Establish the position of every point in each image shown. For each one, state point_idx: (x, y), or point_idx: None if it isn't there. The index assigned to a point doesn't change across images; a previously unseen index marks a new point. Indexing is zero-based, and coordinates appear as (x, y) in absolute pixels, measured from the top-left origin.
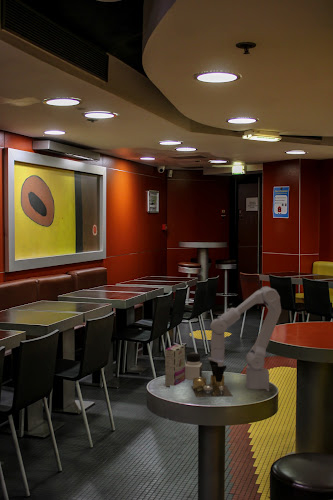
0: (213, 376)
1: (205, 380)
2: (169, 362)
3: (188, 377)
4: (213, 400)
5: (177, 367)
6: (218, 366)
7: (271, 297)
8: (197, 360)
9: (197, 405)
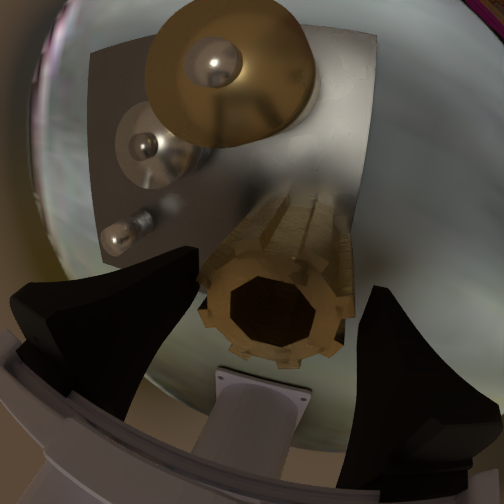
0: (236, 259)
1: (176, 130)
2: None
3: None
4: (84, 148)
5: None
6: (29, 341)
7: None
8: None
9: (43, 70)
